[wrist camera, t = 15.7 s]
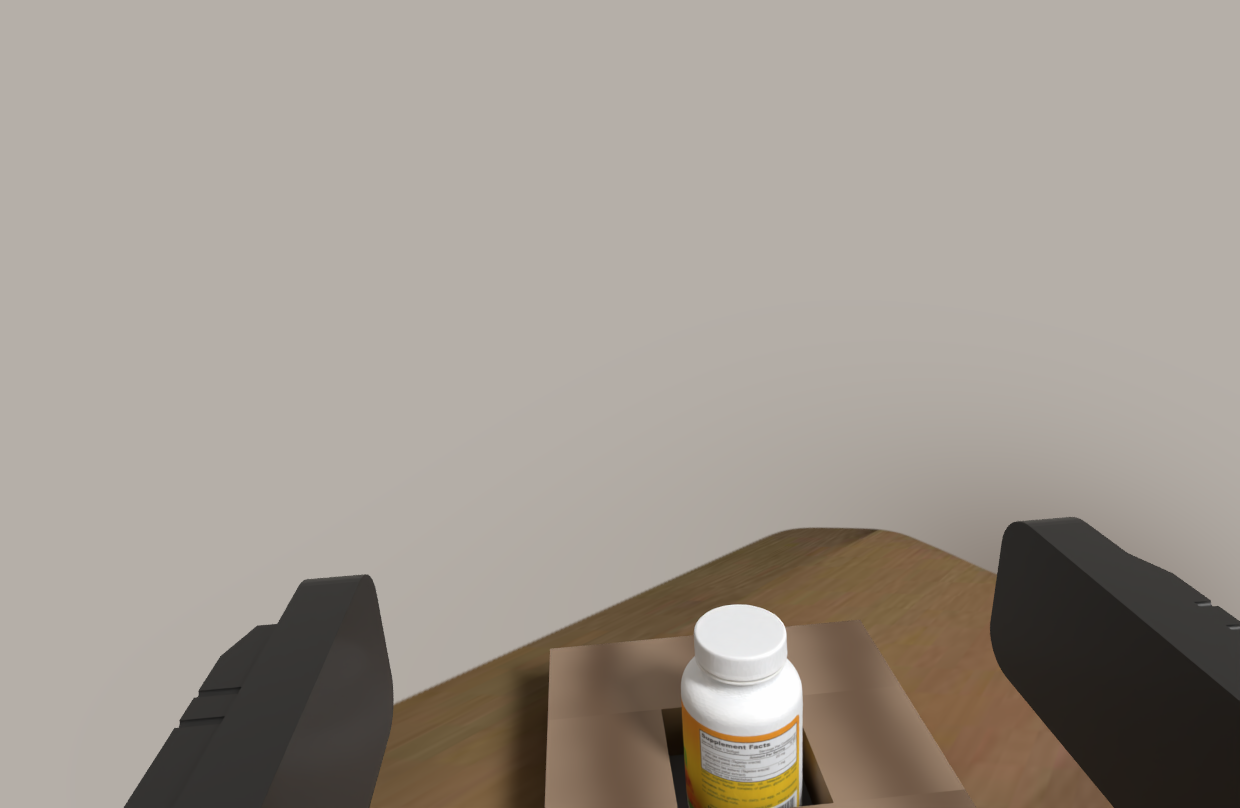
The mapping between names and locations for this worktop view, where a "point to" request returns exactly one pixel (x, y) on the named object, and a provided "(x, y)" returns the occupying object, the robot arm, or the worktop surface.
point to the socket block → (653, 730)
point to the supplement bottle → (742, 713)
